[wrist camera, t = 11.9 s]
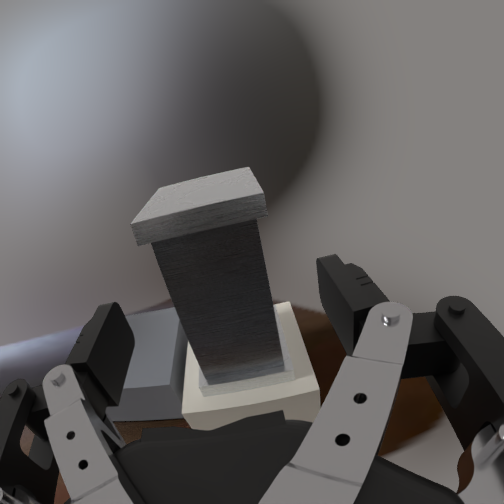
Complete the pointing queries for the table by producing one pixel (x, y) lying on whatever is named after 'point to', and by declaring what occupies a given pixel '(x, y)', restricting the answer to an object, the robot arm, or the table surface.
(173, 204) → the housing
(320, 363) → the table surface
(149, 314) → the stand
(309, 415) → the stand
